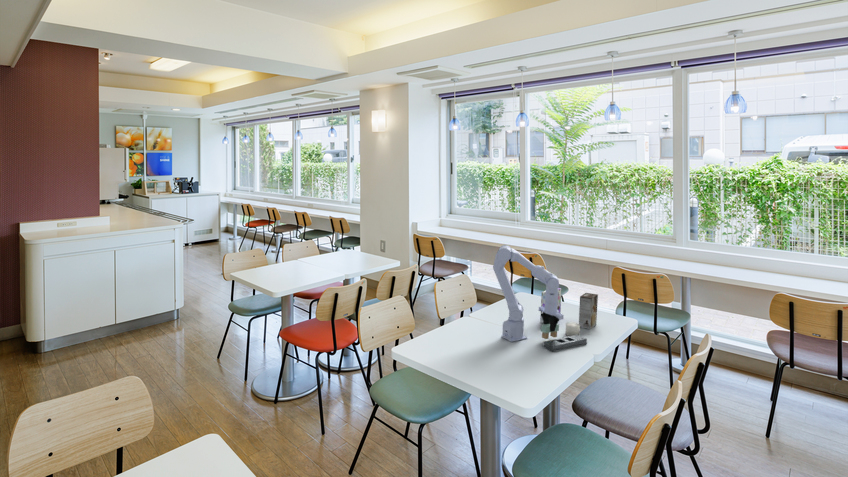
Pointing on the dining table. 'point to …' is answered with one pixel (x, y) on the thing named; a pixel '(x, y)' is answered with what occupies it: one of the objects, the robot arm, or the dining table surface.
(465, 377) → the dining table surface
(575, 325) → the white dome cap
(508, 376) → the dining table surface
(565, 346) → the rail
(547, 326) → the green toy bench
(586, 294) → the coffee box
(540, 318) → the candy box
